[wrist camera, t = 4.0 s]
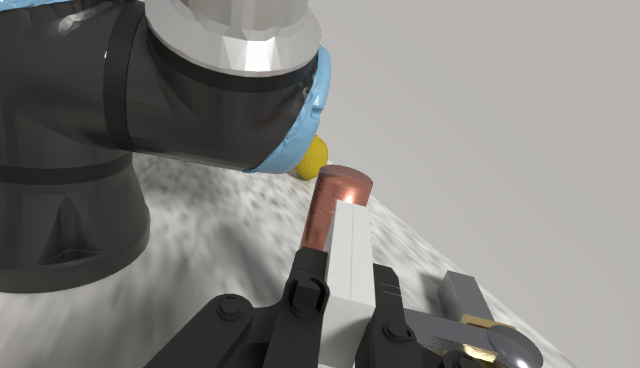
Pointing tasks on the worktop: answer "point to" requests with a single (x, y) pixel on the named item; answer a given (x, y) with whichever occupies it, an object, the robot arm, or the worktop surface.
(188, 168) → the worktop surface
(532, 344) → the lever
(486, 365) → the gray bar
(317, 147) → the lemon
